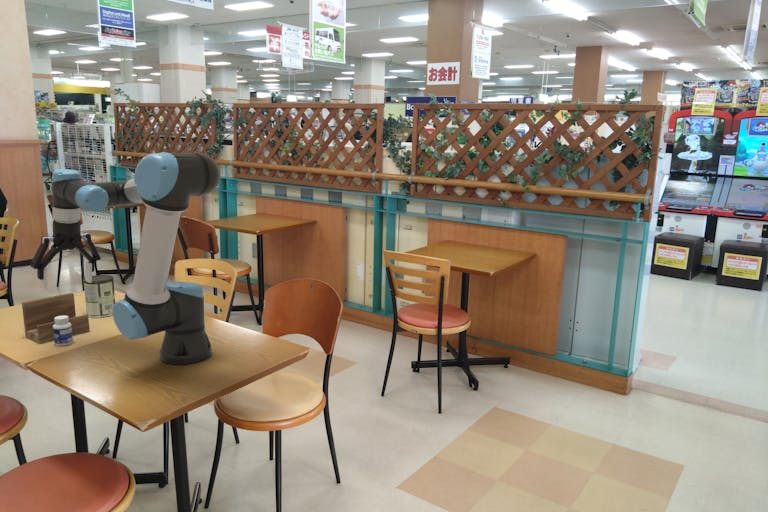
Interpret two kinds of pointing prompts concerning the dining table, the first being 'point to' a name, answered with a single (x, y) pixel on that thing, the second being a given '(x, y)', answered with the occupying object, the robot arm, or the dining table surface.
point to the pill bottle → (62, 331)
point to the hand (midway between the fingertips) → (66, 285)
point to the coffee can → (99, 296)
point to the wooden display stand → (51, 317)
